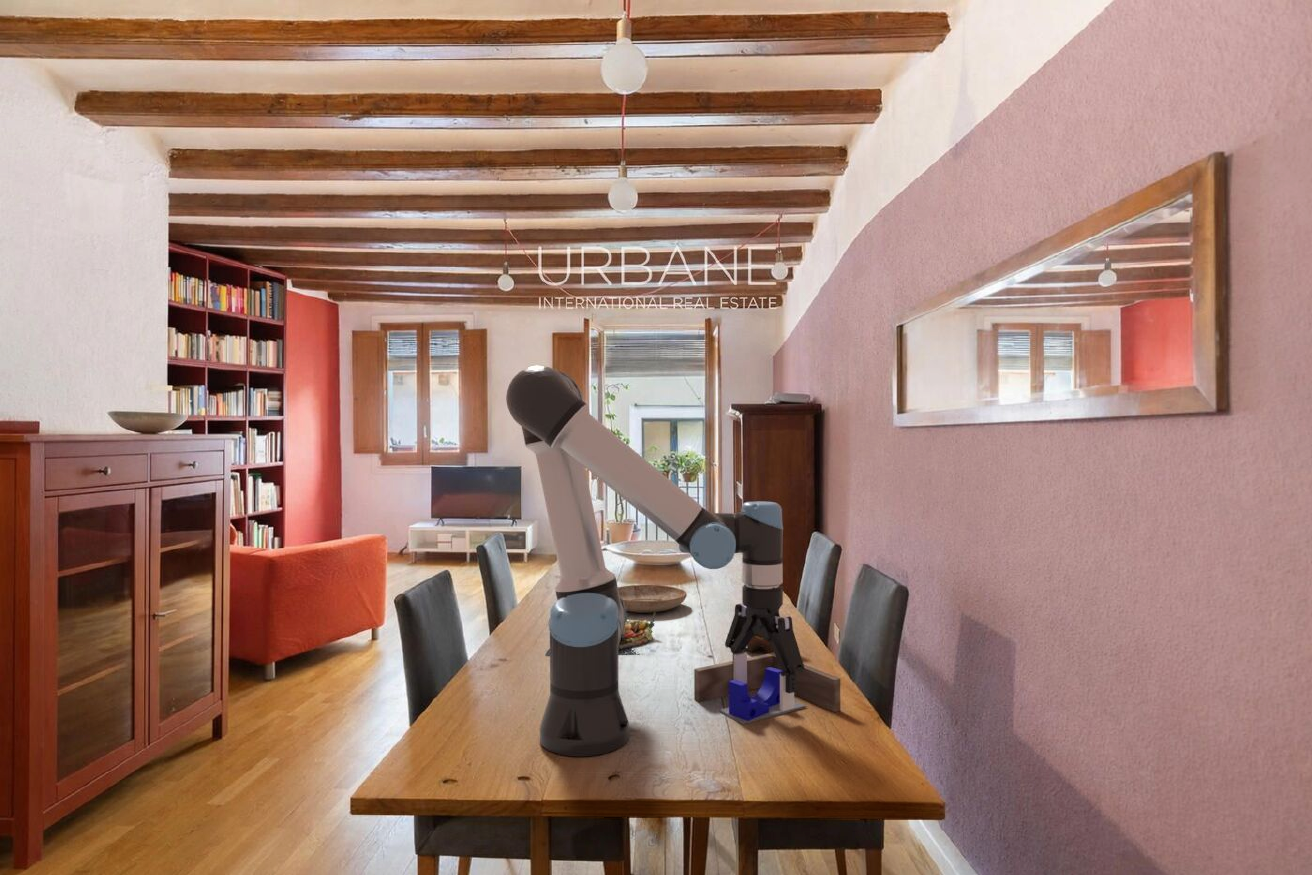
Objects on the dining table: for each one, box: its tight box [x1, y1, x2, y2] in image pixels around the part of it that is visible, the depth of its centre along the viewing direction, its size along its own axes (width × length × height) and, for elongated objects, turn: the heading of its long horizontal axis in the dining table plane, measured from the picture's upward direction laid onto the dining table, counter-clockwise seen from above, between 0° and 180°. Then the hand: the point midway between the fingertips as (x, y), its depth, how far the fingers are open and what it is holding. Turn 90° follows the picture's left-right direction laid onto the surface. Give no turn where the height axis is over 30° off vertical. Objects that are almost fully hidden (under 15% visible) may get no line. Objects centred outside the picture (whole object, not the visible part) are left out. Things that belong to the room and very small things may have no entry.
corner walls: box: [693, 652, 841, 713], centre depth 141 cm, size 20×19×6 cm
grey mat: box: [718, 699, 806, 725], centre depth 138 cm, size 15×7×1 cm, turn 121°
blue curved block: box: [728, 667, 783, 721], centre depth 138 cm, size 12×4×6 cm, turn 133°
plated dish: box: [544, 612, 657, 657], centre depth 183 cm, size 35×28×7 cm
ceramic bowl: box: [618, 584, 688, 614], centre depth 218 cm, size 23×24×5 cm
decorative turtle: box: [733, 632, 776, 654], centre depth 176 cm, size 10×15×8 cm, turn 73°
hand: (762, 697), depth 138 cm, fingers open, 13 cm apart
